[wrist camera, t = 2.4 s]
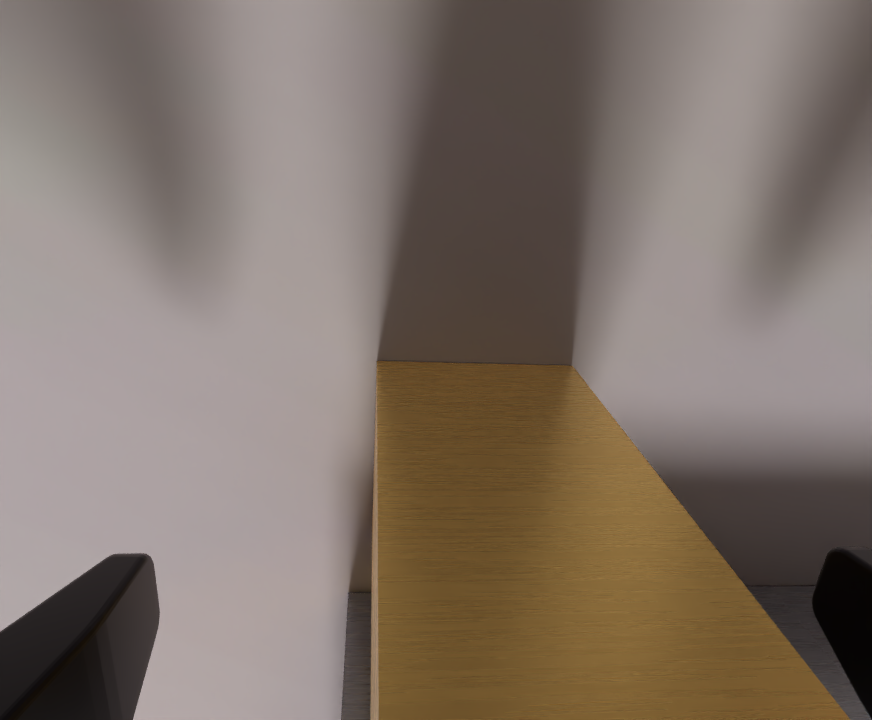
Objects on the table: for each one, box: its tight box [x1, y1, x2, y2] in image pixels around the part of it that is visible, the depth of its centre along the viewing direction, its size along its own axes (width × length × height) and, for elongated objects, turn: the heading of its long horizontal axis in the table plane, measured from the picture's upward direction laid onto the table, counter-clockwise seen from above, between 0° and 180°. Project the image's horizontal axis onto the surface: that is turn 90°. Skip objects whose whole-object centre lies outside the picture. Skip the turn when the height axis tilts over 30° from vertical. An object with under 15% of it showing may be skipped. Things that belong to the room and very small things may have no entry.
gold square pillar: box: [370, 361, 850, 720], centre depth 6 cm, size 3×3×9 cm
